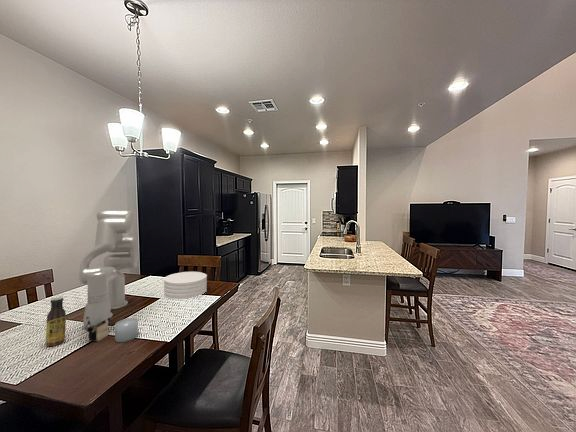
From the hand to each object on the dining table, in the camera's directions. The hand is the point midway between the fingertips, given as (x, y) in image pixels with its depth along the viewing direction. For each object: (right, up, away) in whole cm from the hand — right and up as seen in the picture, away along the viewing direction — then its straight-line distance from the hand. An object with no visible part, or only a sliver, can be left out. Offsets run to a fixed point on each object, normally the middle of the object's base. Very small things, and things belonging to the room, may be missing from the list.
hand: (98, 336), depth 113 cm
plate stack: (+15, +1, +61) cm, 62 cm away
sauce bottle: (-15, -1, -5) cm, 16 cm away
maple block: (0, -1, 0) cm, 1 cm away
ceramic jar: (+12, -1, +1) cm, 12 cm away
